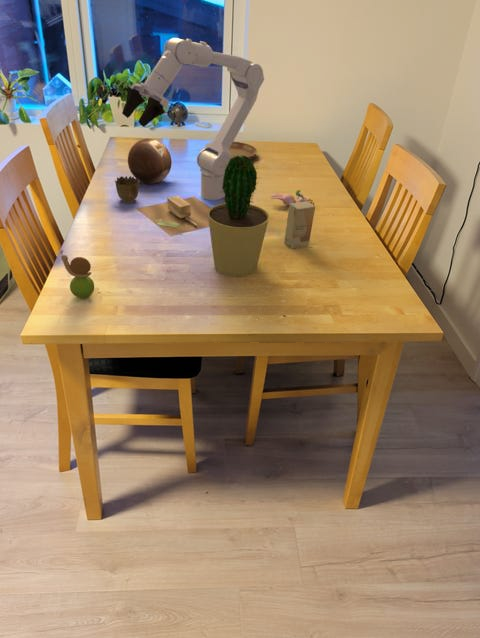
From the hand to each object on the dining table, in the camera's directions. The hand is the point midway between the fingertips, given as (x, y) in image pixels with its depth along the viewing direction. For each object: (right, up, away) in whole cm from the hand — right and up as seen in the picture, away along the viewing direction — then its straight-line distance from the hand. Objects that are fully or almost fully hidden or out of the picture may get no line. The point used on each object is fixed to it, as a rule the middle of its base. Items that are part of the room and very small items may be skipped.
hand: (132, 120), depth 143 cm
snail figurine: (-8, -50, -21) cm, 55 cm away
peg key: (+13, -24, +15) cm, 31 cm away
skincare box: (+46, -34, +7) cm, 58 cm away
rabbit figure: (+47, -17, +31) cm, 59 cm away
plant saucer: (+26, +12, +70) cm, 76 cm away
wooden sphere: (-2, -7, +41) cm, 41 cm away
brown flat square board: (+12, -24, +17) cm, 32 cm away
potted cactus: (+29, -41, -6) cm, 50 cm away
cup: (-6, -18, +24) cm, 31 cm away
